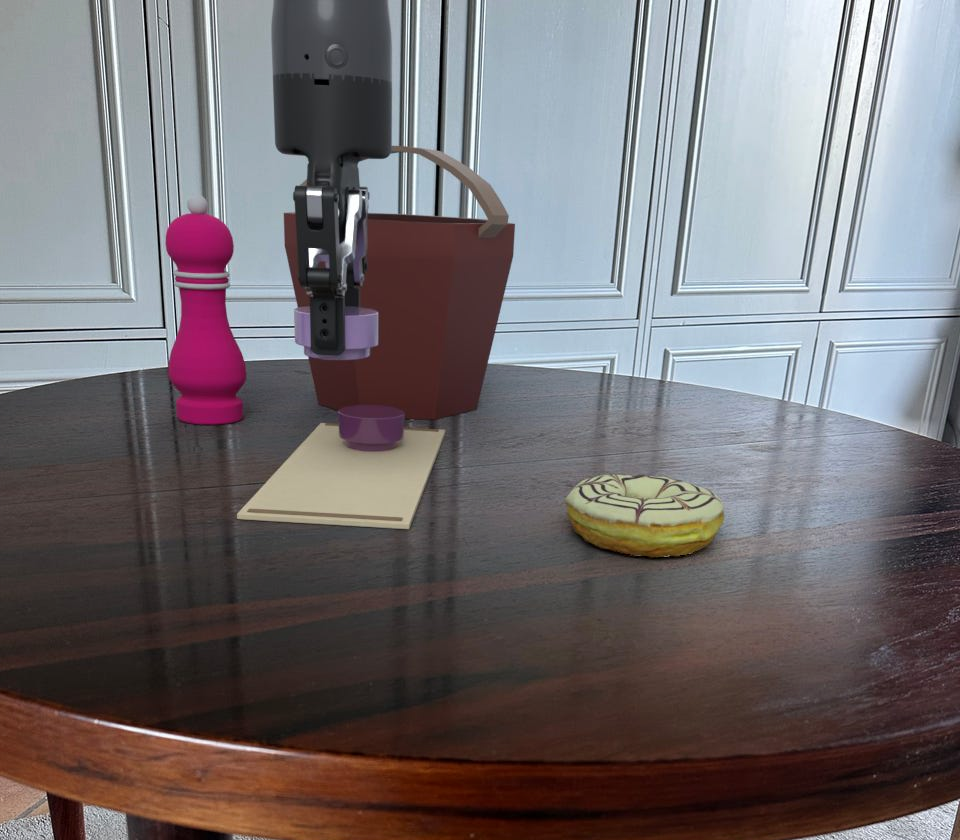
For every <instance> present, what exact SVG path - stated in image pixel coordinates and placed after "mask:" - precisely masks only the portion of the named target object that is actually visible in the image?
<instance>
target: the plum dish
mask: <svg viewBox="0 0 960 840" xmlns="http://www.w3.org/2000/svg"><path fill="white" fill-rule="evenodd" d="M337 416H338V418H337V420H338V421H337V422H338V423H337V424H338V432H339V437H340V438H341V439H343V440H345V444H346V446H347V447H348V448H351V449H354V450H359V451H371V452H377V451H388V450H392V449H395V448H397V446H398V441H400V440H402V439H404V437H405V428H406V427H405V426H406V419H405V412H404V411H403V410H401V409H398V408H394V407H389V406H381V405H355V406H348V407H344V408H341V409H340V410H337Z"/></svg>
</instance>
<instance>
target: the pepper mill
mask: <svg viewBox="0 0 960 840" xmlns="http://www.w3.org/2000/svg"><path fill="white" fill-rule="evenodd" d="M208 205H209V204H208V201H207V200H206V198H205V197H204V196H203V195H201V194H197V193H196V194H192V195H191V196H189V198H188V199H187V201H186V206H187V210H188V211H189V212H190V213H185V214H182V215H179V216H177V217H176V218H174V219H173V220H172V221H171V222H170V223H169V225H168V227H167V230H166V233H165V250H166V252H167V255H168V256H169V258H170V259H171V260H172V262H173V263H174V264H175V266H176V268H177V269H175V270H174V271H173V272H172V273H173V276H174V282H173V285H174V286H175V287H176V288H178V291H179V297H180V322H179V327H178V329H177V330H178V331H177V334H176V337H175V339H174V342H173V345H172V348H171V351H170V354H169V359H168V379H169V381H170V382H171V384H172V386H174V387H175V389H177V391H178V392H179V393H180V397H178V398H177V399H176V400H175V408H176V417H177V419H178V420H179V421H180V422H183V423H186V424H191V425H200V426H203V425H204V426H218V425H219V426H220V425H228V424H229V425H230V424H234V423H238V422H240V421H242V420H243V418H244V402H243V399H242V398H240V397H238V396H237V394H238V393H239V391H240V390H241V389H242V388H243V386H244V385H245V384H246V381H247V378H248V377H247V375H248V374H247V367H246V363H245V359H244V356H243V352H242V351H241V348H240V346H239V345H238V342H237V340H236V338H235V337H234V336H235V335H234V334H233V332H232V329H231V326H230V323H229V319H228V313H227V305H226V303H227V302H226V299H227V297H226V296H227V289H228V288H229V289H230V287H231V283H230V282H229V281H230V280H229V277H230V276H231V274H230V272H229V271H227V270H226V268H227V266H228V264H229V263H230V261H231V260H232V258H233V256H234V251H235V249H234V248H235V244H234V238H233V235H232V232H231V230H230V229H229V227H228V226H227V225H226V223H225V222H224V221H222V220H221V219H220V218H218V217H216V216H214V215H211V214H208V213H207V211H208V207H209V206H208Z"/></svg>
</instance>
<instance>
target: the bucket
mask: <svg viewBox="0 0 960 840" xmlns="http://www.w3.org/2000/svg"><path fill="white" fill-rule="evenodd" d="M397 153H398V154H399V153H406V154H414V155H420V156H421V157H423V158H424V159H427V160H429V161H430V162H431V163H434V164H436V165H437V166H439V167H441V168H442V169H444V170H445V171H447V172H448V173H450V174H451V175H452V176H453V177H455V178H456V179H457V180H459V181H460V182H461V184H463V185H464V186H465V187H466V188H468V189H469V190H470V193H471V194H472V195H473V197H474V198H475V200H476V201H477V203H478V204H479V206H480V208H481V209H482V211H483V212H484V216H486V218H474V217H457V216H456V217H455V216H442V215H441V216H439V215H425V214H424V215H423V214H411V213H410V214H409V213H408V214H407V213H387V212H385V213H384V212H368V231H367V240H368V246H367V263H368V270H367V271H366V275H364V281H363V284H362V286H356V288H360V307H362V308H369V309H373V310H376V311H378V312H379V344H378V345H377V346H375V347H371V348H370V356H369V357H367V358H363V359H356V360H326V359H317V358H312V357H308V356H307V358H308V362H309V363H308V364H309V367H310V372H311V376H312V382H313V386H314V391H315V395H316V400H317V404H318V405H320V406H323V407H326V408H329V409H333V410H335V411H339V410H340V409H341V408H344V407H348V406H355V405H381V406H389V407H394V408H398V409H401V410H403V411H404V412H405V420H433V421H434V420H439V419H443V418H446V417H447V418H448V417H451V416H454V415H459V414H463V413H468V412H471V411H476V410H477V409H478V406H479V403H480V402H479V401H480V397H481V393H482V389H483V385H484V380H485V378H486V377H485V376H486V372H487V368H488V364H489V361H490V355H491V351H492V348H493V343H494V339H495V334H496V329H497V327H498V322H499V317H500V313H501V309H502V305H503V301H504V296H505V293H506V289H507V284H508V279H509V276H510V271H511V267H512V263H513V259H514V252H515V251H514V249H515V232H516V223H514V222H513V223H512V222H509V216H510V215H509V213H508V211H507V210H506V208H505V205H504V204H503V203H502V200H501V199H500V197H499V195H498V194H497V192H496V191H495V190H494V187H493V186H492V185H491V183H489V182H488V181H486V180H485V179H484V178H482V177H481V176H480V175H479V174H478V173H476V172H475V171H474V170H473V169H472V168H470V167H469V166H467V165H466V164H464V163H462V162H461V161H459V160H458V159H456V158H454V157H452V156H450V155H449V154H446V153H444V152H443V151H441V150H436V149H430V148H423V147H415V146H405V145H392V150H391V154H390V155H392V154H397ZM366 160H367V159H362V160H360V161H359V162H363V161H366ZM306 182H307V178H306V179H305V180H304V181H303V182H302V183H300V184H299V186H306ZM293 202H294V203H295V201H294V200H293ZM283 236H284V237H283V238H284V249H285V253H286V258H287V263H288V268H289V272H290V277H291V283H292V288H293V292H294V297H295V303H296V305H297V308H299V307H305V306H310V296H311V295H307V293H306V289H305V288H304V287H301V286H300V282H299V280H298V273H299V266H298V250H297V234H296V217H295V211H291V212H283ZM317 268H326V265H325V262H319V263H318V265H317ZM475 409H476V410H475Z"/></svg>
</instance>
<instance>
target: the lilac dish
mask: <svg viewBox="0 0 960 840" xmlns="http://www.w3.org/2000/svg"><path fill="white" fill-rule="evenodd" d="M293 322H294V323H293V325H294V343H295V344H296V345H298V346H302V347H303V354H304V355H305V356H306V357H307V358H308V357H312V358H317V359H326V360H356V359H363V358H367V357H369V356H370V348H371V347H375V346H377V345H378V344H379V312H378V311H376V310H373V309H369V308H362V307H352V306H345V350H344V352H343V353H342V354H340V355H338V356H334V355H317V354H315V353H313V351H312V350H311V333H310V306H305V307H299V308H298V307H295V308H294V309H293Z"/></svg>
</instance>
